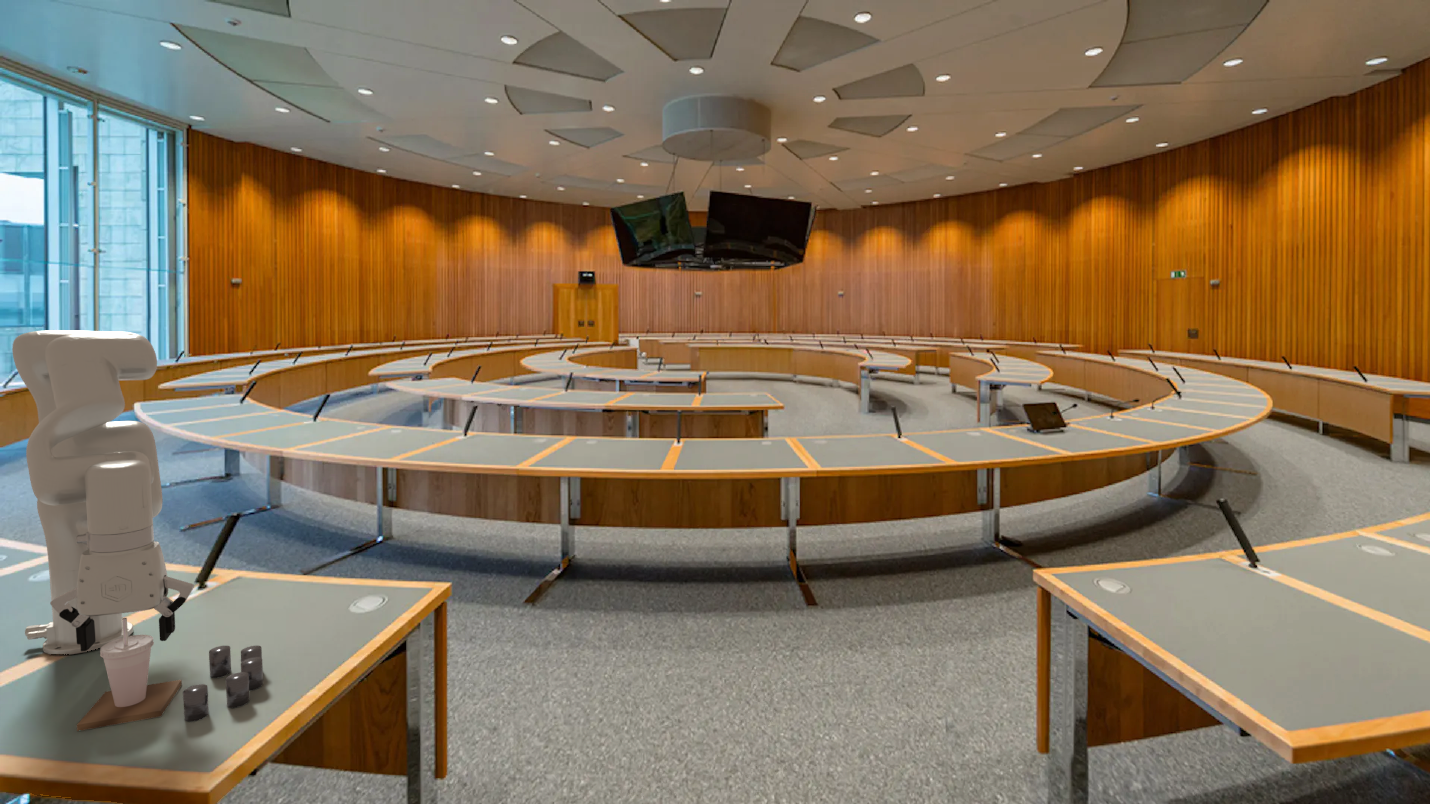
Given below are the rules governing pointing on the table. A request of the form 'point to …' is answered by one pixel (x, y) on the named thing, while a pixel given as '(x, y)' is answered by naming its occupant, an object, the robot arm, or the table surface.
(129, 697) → the smoothie
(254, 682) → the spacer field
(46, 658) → the table surface
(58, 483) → the robot arm
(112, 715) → the walnut pad
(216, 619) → the table surface
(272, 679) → the table surface
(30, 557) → the table surface
